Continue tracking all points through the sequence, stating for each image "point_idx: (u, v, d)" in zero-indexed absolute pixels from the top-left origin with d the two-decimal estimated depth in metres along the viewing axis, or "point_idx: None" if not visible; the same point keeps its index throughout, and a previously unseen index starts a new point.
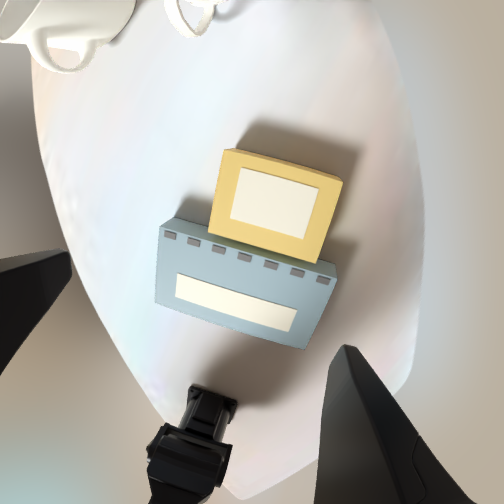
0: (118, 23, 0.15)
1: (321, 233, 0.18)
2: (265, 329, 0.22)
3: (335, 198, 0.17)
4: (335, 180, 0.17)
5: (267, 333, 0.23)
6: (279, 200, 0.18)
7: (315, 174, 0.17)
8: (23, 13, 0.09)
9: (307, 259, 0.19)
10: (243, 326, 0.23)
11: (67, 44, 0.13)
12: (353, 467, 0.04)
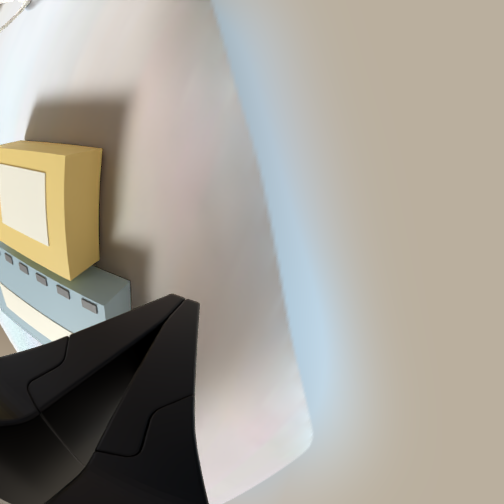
0: None
1: (61, 237, 0.10)
2: None
3: (61, 182, 0.09)
4: (58, 154, 0.09)
5: None
6: (22, 197, 0.10)
7: (41, 153, 0.09)
8: None
9: (61, 274, 0.11)
10: None
11: None
12: None
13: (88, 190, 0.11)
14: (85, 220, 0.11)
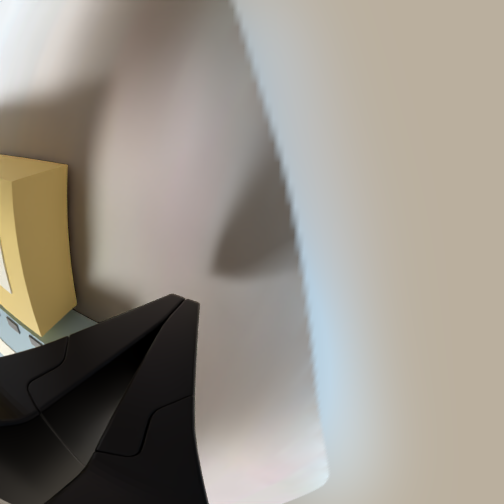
0: None
1: (22, 286, 0.07)
2: None
3: (11, 218, 0.06)
4: (4, 179, 0.05)
5: None
6: None
7: None
8: None
9: (31, 327, 0.08)
10: None
11: None
12: None
13: (51, 223, 0.07)
14: (51, 262, 0.08)
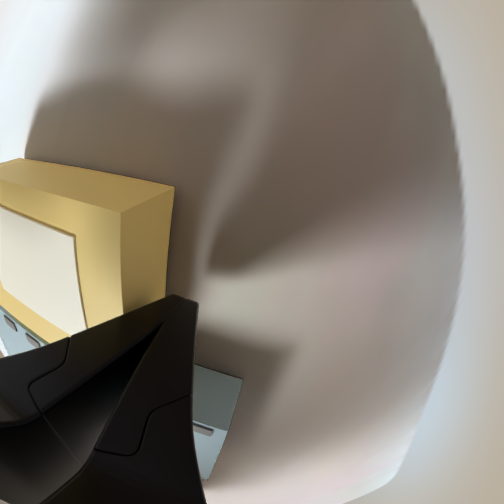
0: None
1: None
2: None
3: (114, 262, 0.05)
4: (102, 207, 0.05)
5: None
6: (30, 264, 0.06)
7: (61, 198, 0.05)
8: None
9: None
10: None
11: None
12: None
13: (155, 261, 0.07)
14: None
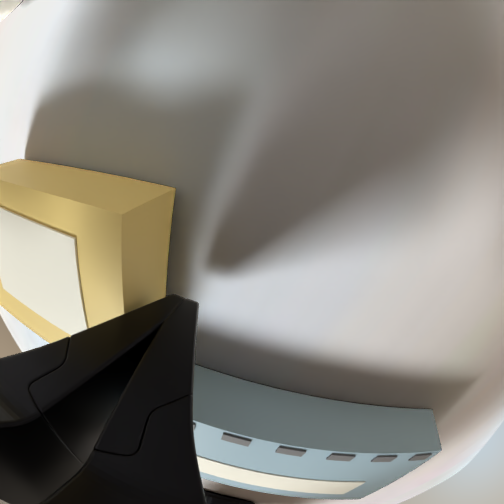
0: None
1: None
2: (309, 493, 0.10)
3: (115, 263, 0.05)
4: (103, 208, 0.05)
5: (311, 495, 0.10)
6: (31, 265, 0.06)
7: (63, 199, 0.05)
8: None
9: None
10: (275, 491, 0.10)
11: None
12: None
13: (155, 262, 0.07)
14: None
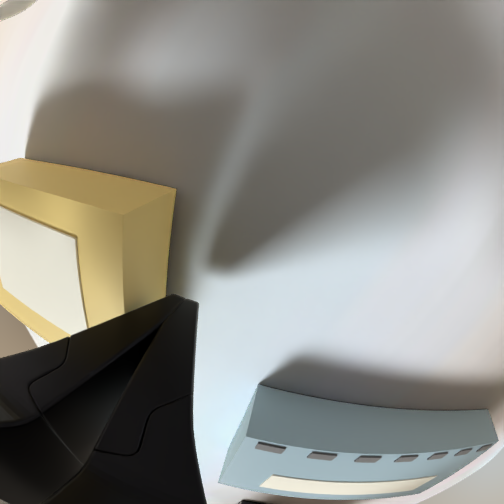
0: None
1: None
2: (386, 493, 0.10)
3: (116, 263, 0.05)
4: (104, 208, 0.05)
5: (385, 495, 0.10)
6: (31, 265, 0.06)
7: (64, 199, 0.05)
8: None
9: None
10: (357, 496, 0.10)
11: None
12: None
13: (156, 262, 0.07)
14: None
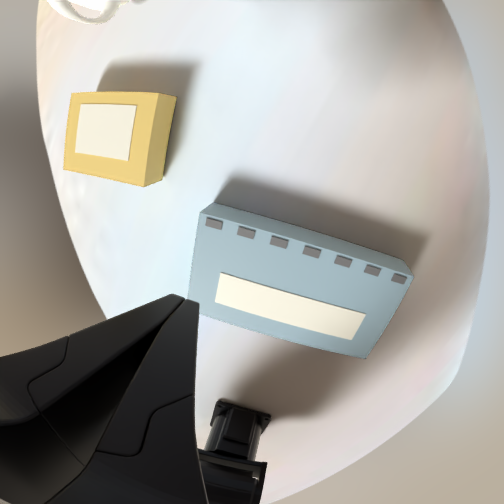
0: None
1: (143, 151, 0.15)
2: (325, 337, 0.18)
3: (152, 111, 0.14)
4: None
5: (326, 342, 0.18)
6: (106, 126, 0.15)
7: (134, 92, 0.14)
8: None
9: (135, 183, 0.16)
10: (299, 335, 0.19)
11: None
12: None
13: (165, 122, 0.16)
14: (160, 144, 0.16)
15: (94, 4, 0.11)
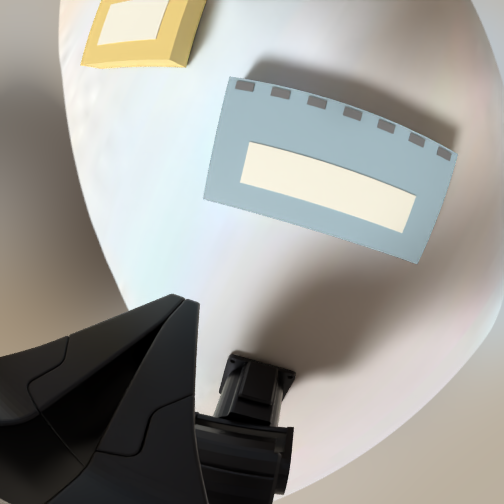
0: None
1: (173, 28, 0.12)
2: (372, 229, 0.15)
3: None
4: None
5: (374, 237, 0.15)
6: (136, 15, 0.11)
7: None
8: None
9: (160, 57, 0.13)
10: (342, 226, 0.15)
11: None
12: None
13: (196, 13, 0.12)
14: (189, 29, 0.13)
15: None
